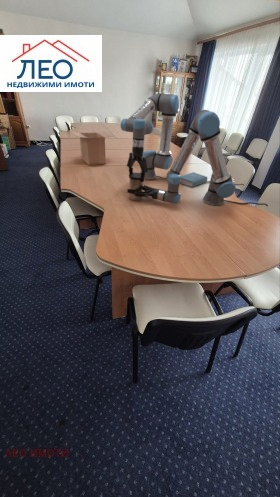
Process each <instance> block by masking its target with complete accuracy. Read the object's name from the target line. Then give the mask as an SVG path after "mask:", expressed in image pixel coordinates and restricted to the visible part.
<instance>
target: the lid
mask: <svg viewBox="0 0 280 497" xmlns="http://www.w3.org/2000/svg"><path fill="white" fill-rule="evenodd" d="M128 178H129V180H130V179H132V180H141V173H140V172H133V173H130V174H129V173H128Z"/></svg>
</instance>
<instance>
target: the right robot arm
mask: <svg viewBox="0 0 280 497" xmlns="http://www.w3.org/2000/svg"><path fill="white" fill-rule="evenodd" d="M220 125H221V120H220V118H219V116H218V114H216V113H215V112H214V111H211V110H209V109H202V110H200V111H198V112H197V113H196V115H195V116H194V117H193V119H192V122H191V124H190V126H189V128H188V133H187V136H186V137H185V139H184V142H183V143H182V146H181V147H180V149H179V151H178V153H177V155H176V157H175V159H174V160H173V162H172V164H171V166H170V168H169V170H168V171H167V172H166V177H165V178H167V179H166V180H167V190H165V189H160V188H154V187H151V186H148V185H145V184H143V191H136V190H131V189H129V188H127V189H126V190H127V191H126V193H128V194H129V193H131V194H135V196H138V197H142V198H146V199H149V197H151V198H152V200H156V201H157V200H158V201H160V202H165V203H169V204H174V205H178V204H179V203H180V202H181V199H182V194H181V193H180V192H179V190H180V184H181V183H180V176H181V175H180V174H181V173H182V171H183V169H184V167H185V165H186V164H187V161H188V160H189V158H190V156H191V154H192V152H193V150H194V149H195V147H196V146H197V144H198V141H199V139H200V142H202V143H203V144H204V147H205V150H206V155H207V157H208V161H209V164H210V167H211V171H212V173H211V176H210V180H209V181H210V182H209V185H208V189H207V191H206V192H205V194H204V196H203V199H202V201H203V202H204V203H205V204H207V205H210V206H222V205H223V204H224V202H227V203H231V204H237V205H258V206H259V205H260V206H263V205H264V206H266V207H269V205H268V203H265V202H263V203H259V202H252V201H248V202H239V201H238V202H237V201H232V200H227V199H228V198H230V197H231V196H233V195H234V194H235V192H236V189H237V188H236V187H237V186H236V185H235V184H236V183H234V181H233V177H232V174H231V173H230V172H229V171H228V168H227V164H226V160H225V156H224V152H223V148H222V145H221V141H220V140H221V139H220V137H219V136H220V134H221V128H220Z"/></svg>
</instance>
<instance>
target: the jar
mask: <svg viewBox="0 0 280 497" xmlns="http://www.w3.org/2000/svg"><path fill="white" fill-rule="evenodd" d="M143 186H144V182H141V180H132V179H130V178H129V185H128V189H131V190H136V191H144V190H143ZM128 199H129V200H131V201H135V202H136V201H138V202H139V201H141V200H142V199H143V197H138V196H135V194H131V193H128Z"/></svg>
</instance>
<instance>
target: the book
mask: <svg viewBox="0 0 280 497" xmlns="http://www.w3.org/2000/svg"><path fill="white" fill-rule="evenodd" d="M207 181H208V176H206V175H203V174H200V173H196V172H195V171H192V172H190V173H186V174H183V175H180V184H181V185H184V186H185V187H186V186H187V187H188V188H194V187H197V186H199V185H202V184H205V183H208V182H207Z"/></svg>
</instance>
